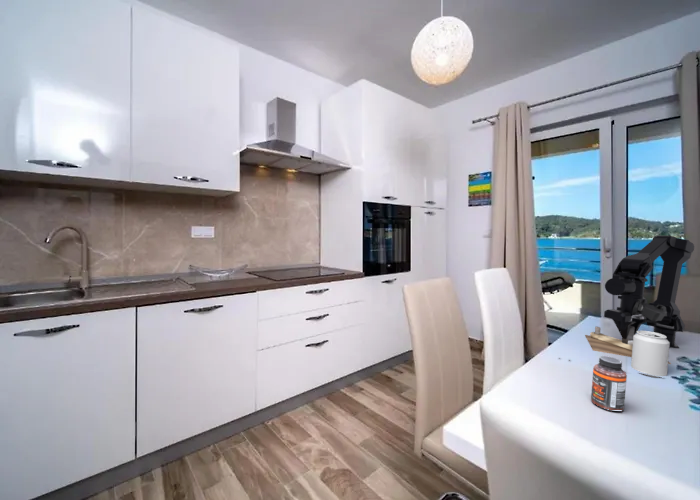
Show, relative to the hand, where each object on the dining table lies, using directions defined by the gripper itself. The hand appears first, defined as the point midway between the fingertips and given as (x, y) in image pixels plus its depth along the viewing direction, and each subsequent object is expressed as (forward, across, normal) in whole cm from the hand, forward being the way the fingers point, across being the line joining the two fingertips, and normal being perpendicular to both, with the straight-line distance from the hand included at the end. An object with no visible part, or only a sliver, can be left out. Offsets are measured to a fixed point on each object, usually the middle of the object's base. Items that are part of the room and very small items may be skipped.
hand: (628, 338), depth 105 cm
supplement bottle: (+6, -46, -20) cm, 51 cm away
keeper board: (+4, -1, +1) cm, 5 cm away
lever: (+3, 0, +3) cm, 4 cm away
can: (+5, -15, -13) cm, 20 cm away
